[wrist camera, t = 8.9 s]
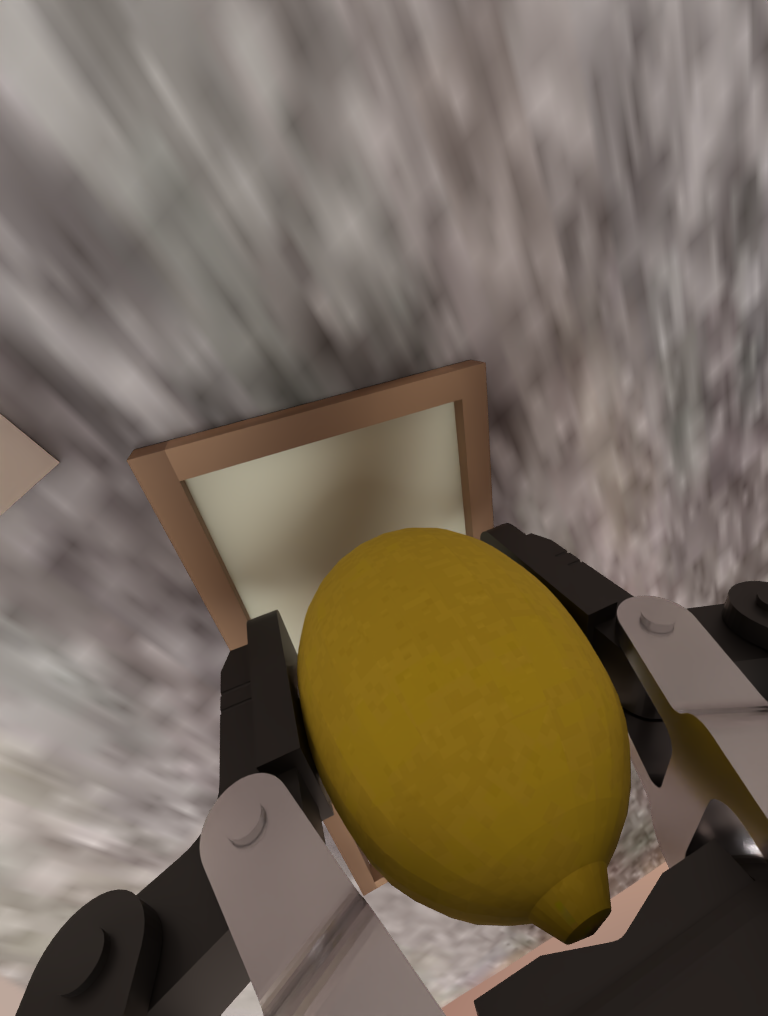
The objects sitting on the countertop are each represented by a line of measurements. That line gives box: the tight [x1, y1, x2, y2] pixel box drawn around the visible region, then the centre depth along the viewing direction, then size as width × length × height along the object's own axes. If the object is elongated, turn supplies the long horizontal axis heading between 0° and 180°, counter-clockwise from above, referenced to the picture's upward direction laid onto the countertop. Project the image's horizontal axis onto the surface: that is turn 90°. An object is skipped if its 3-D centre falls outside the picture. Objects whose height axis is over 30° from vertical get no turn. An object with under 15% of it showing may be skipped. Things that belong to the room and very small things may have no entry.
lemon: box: [297, 528, 631, 945], centre depth 8 cm, size 6×6×8 cm
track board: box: [127, 360, 494, 895], centre depth 16 cm, size 9×26×1 cm, turn 11°
